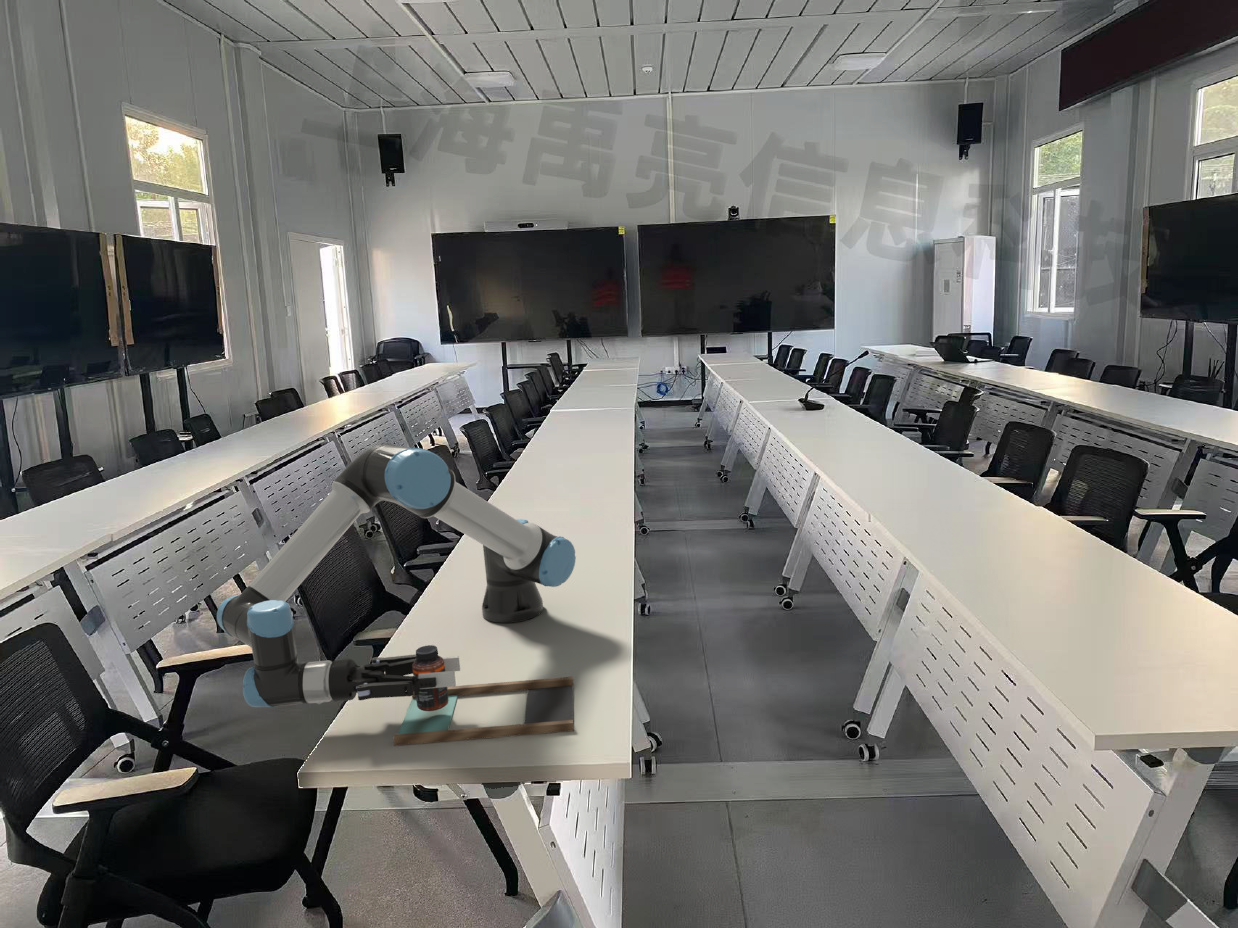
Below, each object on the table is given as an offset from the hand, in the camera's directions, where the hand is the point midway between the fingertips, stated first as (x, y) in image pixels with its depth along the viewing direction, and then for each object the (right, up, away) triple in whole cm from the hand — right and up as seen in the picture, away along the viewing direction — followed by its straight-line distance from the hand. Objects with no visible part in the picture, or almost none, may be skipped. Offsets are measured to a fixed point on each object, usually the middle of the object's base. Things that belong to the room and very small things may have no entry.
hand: (456, 670), depth 162 cm
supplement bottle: (-5, -7, +1) cm, 8 cm away
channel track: (+6, -8, +2) cm, 10 cm away
